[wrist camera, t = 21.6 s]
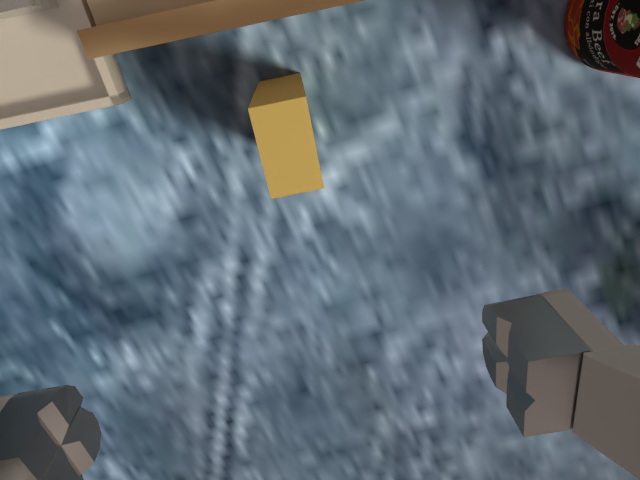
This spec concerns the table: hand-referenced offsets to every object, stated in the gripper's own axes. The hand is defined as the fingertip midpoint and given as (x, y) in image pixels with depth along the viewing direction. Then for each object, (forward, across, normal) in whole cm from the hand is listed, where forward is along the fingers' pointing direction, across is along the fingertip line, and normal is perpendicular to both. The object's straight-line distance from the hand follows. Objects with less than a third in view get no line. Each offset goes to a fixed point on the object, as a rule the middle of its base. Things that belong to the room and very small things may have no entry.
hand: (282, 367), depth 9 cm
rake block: (+26, 0, +1) cm, 26 cm away
